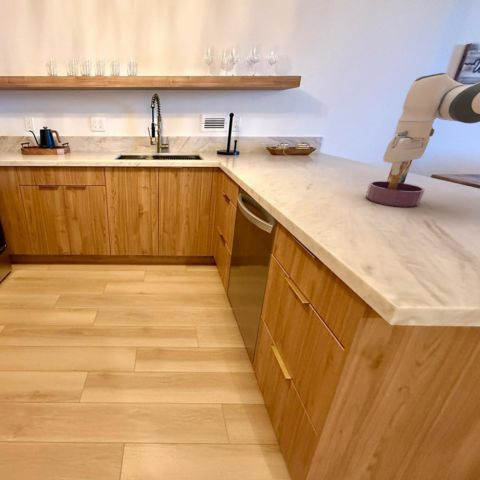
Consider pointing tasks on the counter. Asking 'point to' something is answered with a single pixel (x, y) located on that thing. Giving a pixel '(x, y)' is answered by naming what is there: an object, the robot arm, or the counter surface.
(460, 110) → the robot arm
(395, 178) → the dish brush
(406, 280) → the counter surface
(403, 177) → the lotion bottle
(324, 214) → the counter surface
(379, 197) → the plum bowl
